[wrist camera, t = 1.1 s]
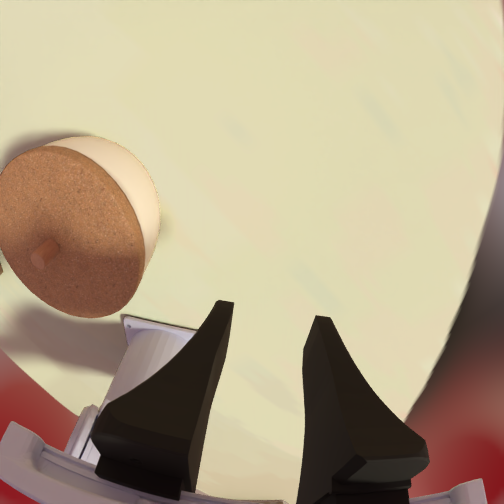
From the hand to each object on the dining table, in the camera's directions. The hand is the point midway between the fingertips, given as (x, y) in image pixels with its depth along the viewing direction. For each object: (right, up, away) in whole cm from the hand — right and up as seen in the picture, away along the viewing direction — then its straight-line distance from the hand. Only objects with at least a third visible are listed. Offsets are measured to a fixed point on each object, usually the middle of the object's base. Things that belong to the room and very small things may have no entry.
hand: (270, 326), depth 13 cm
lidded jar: (-11, +8, +9) cm, 16 cm away
